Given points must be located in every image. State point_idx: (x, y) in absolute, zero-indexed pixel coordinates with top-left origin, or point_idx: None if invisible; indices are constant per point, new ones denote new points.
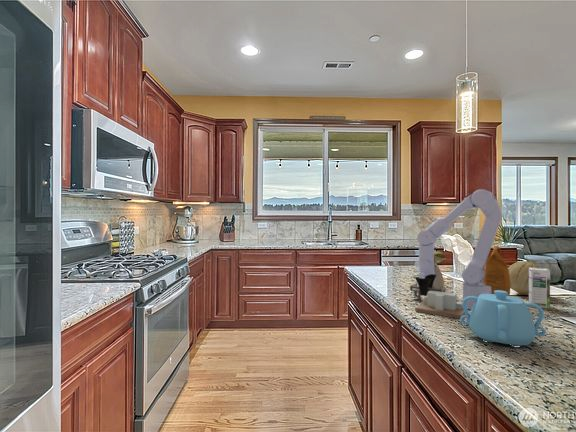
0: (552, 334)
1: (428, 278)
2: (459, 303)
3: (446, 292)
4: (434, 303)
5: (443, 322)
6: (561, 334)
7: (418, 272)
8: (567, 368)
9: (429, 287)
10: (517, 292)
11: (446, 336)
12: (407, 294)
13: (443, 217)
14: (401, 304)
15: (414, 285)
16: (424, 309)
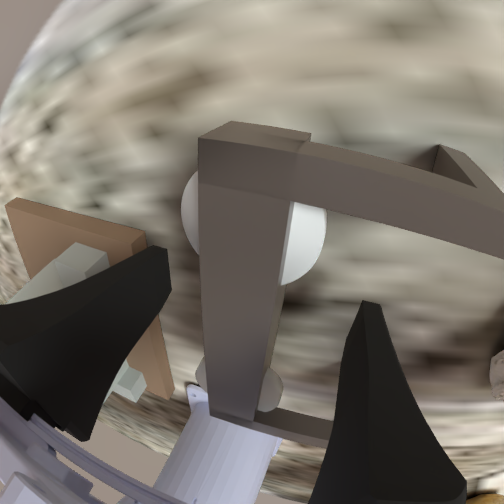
0: (126, 431)
1: (335, 477)
2: (116, 388)
3: (496, 396)
4: None
5: (13, 281)
6: (138, 440)
7: (22, 464)
8: None
9: (345, 373)
10: (484, 496)
11: None
12: (457, 66)
13: None
14: (48, 100)
15: (319, 206)
16: (17, 242)
